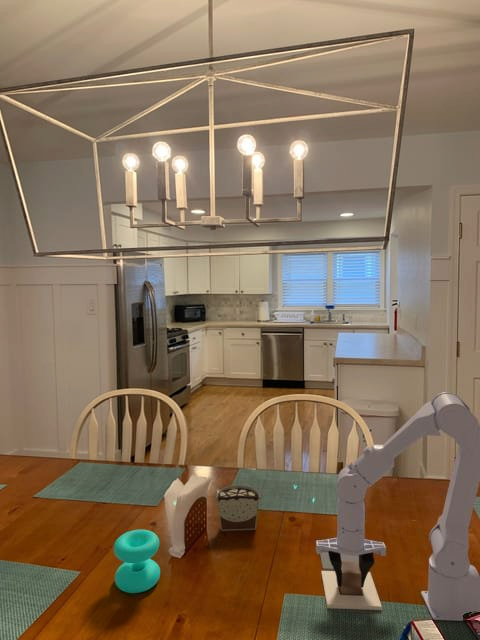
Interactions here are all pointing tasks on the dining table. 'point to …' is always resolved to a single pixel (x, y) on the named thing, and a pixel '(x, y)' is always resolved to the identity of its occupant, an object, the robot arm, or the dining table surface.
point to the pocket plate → (349, 601)
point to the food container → (238, 507)
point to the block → (350, 579)
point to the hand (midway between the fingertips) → (349, 584)
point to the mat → (344, 558)
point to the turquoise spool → (137, 561)
